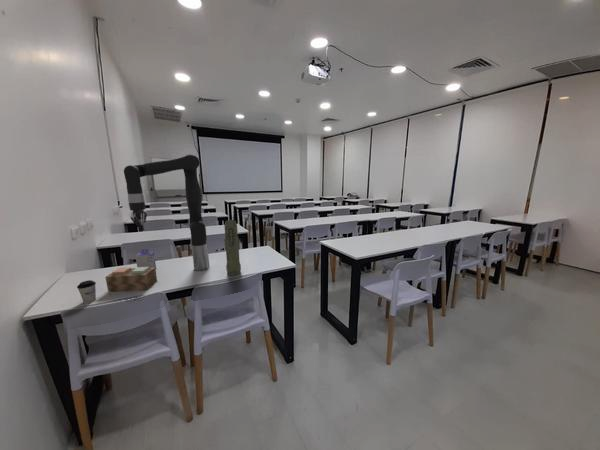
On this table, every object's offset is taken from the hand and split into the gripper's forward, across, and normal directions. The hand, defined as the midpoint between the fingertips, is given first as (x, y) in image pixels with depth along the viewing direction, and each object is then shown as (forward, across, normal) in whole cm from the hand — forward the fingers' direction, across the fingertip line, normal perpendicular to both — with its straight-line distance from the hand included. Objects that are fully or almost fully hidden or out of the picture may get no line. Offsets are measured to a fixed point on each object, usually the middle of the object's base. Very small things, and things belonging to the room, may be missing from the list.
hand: (141, 231), depth 133 cm
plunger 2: (+30, -9, -1) cm, 31 cm away
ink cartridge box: (+31, +15, +8) cm, 35 cm away
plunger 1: (+30, -9, +9) cm, 32 cm away
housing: (+30, -9, +4) cm, 32 cm away
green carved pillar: (+32, +2, -50) cm, 59 cm away
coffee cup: (+30, -23, +17) cm, 42 cm away
